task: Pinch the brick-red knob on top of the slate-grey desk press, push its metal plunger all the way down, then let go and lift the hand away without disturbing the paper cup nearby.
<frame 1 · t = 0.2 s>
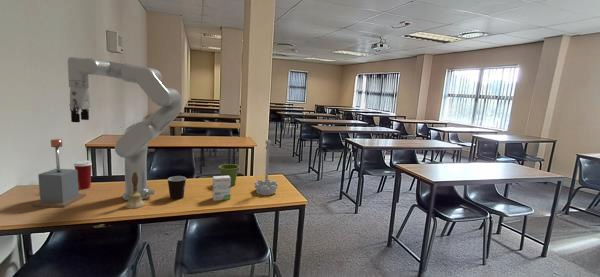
hand: (80, 120, 142), 37 cm above the table, tool pointing down, fingers open, 9 cm apart
hand bell: (135, 205, 140), on the table
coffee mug: (178, 196, 154), on the table
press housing: (60, 200, 139), on the table
plunger: (57, 159, 136), point 20 cm above the table, slide at 9.0 cm
paper cup: (84, 187, 158), on the table
plant pot: (228, 185, 178), on the table
flag stand: (265, 192, 169), on the table
ink box: (221, 198, 155), on the table
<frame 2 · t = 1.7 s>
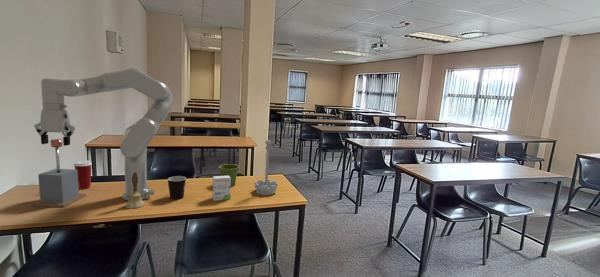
hand: (55, 144, 135), 27 cm above the table, tool pointing down, fingers open, 9 cm apart
nothing on the table moved.
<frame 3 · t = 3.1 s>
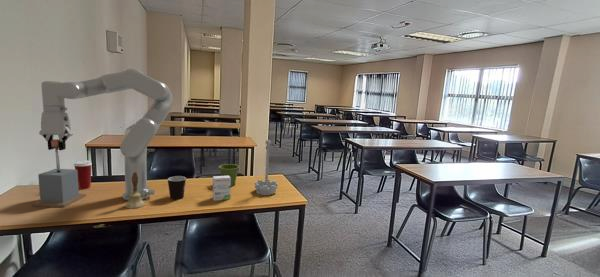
hand: (56, 149, 136), 25 cm above the table, tool pointing down, fingers closed on plunger, 4 cm apart
plunger: (57, 159, 136), point 20 cm above the table, slide at 9.0 cm, touching gripper
everything else where it was.
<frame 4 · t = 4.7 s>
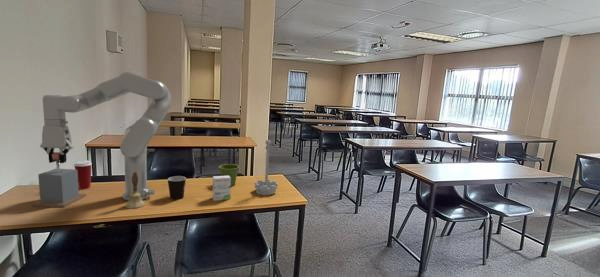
hand: (57, 161, 137), 19 cm above the table, tool pointing down, fingers closed on plunger, 4 cm apart
plunger: (58, 172, 137), point 14 cm above the table, slide at 3.0 cm, touching gripper
everything else where it was.
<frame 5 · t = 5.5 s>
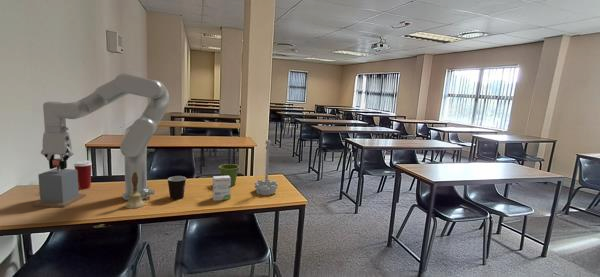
hand: (58, 168, 137), 16 cm above the table, tool pointing down, fingers closed on plunger, 4 cm apart
plunger: (59, 178, 138), point 11 cm above the table, slide at 0.0 cm, touching gripper
everything else where it was.
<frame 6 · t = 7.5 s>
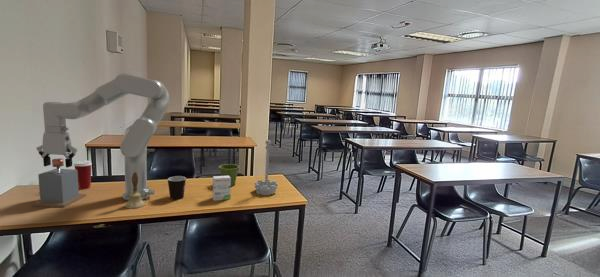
hand: (58, 166, 137), 17 cm above the table, tool pointing down, fingers open, 9 cm apart
plunger: (59, 178, 138), point 11 cm above the table, slide at -0.1 cm
everything else where it was.
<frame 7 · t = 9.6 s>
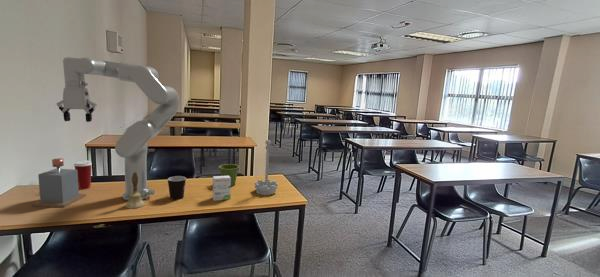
hand: (78, 121, 142), 37 cm above the table, tool pointing down, fingers open, 9 cm apart
nothing on the table moved.
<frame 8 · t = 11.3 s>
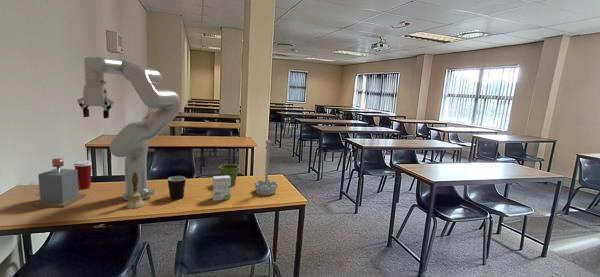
hand: (96, 117, 150), 38 cm above the table, tool pointing down, fingers open, 9 cm apart
nothing on the table moved.
at the end: plunger slide at -0.1 cm; the gripper is holding nothing; paper cup moved 0.2 cm from its start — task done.
